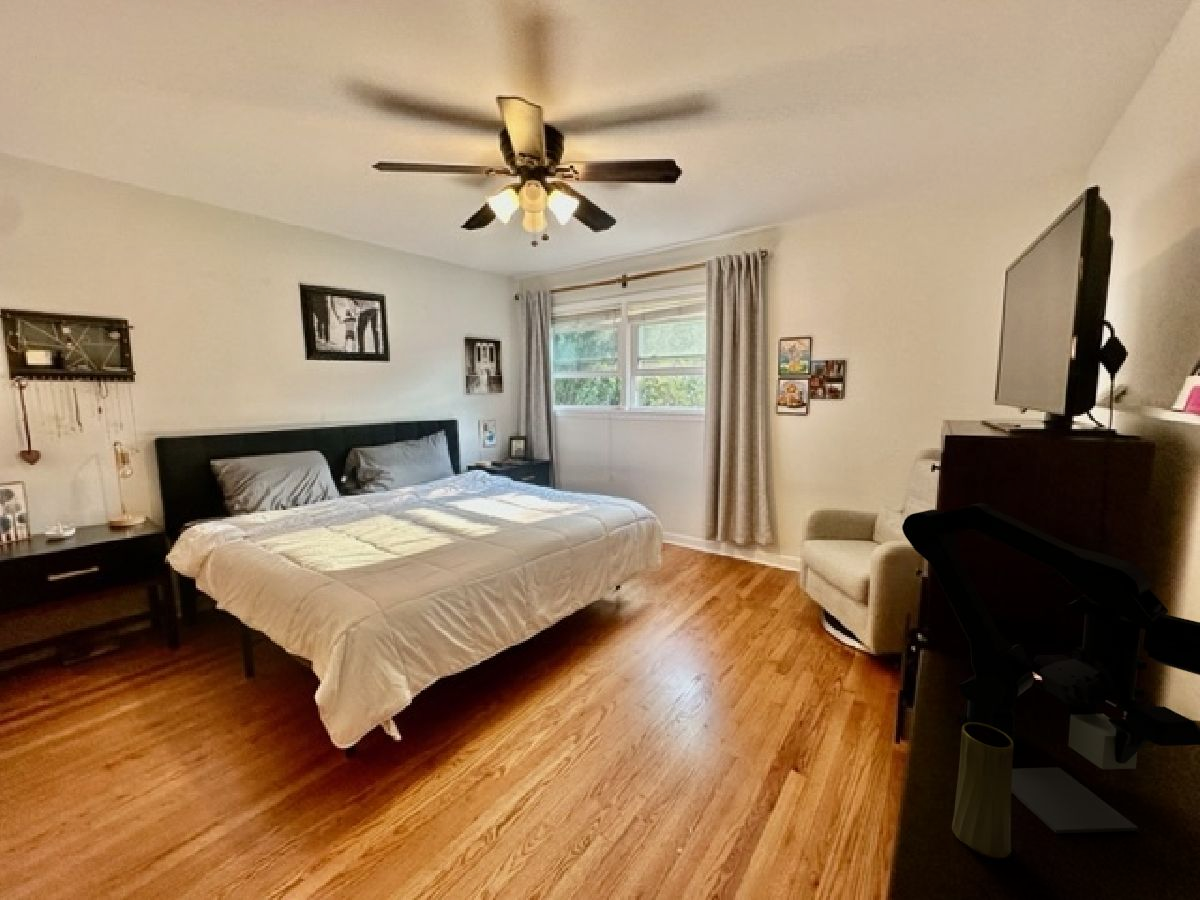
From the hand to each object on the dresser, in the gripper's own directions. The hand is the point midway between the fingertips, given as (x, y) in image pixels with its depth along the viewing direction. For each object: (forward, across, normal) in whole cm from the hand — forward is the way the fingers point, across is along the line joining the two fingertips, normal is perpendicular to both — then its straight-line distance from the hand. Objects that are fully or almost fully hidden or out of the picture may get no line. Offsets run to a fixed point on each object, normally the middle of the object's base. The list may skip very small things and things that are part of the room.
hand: (1101, 749), depth 74 cm
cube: (+1, 0, 0) cm, 1 cm away
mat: (+5, +3, -9) cm, 11 cm away
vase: (+5, +9, -25) cm, 27 cm away
